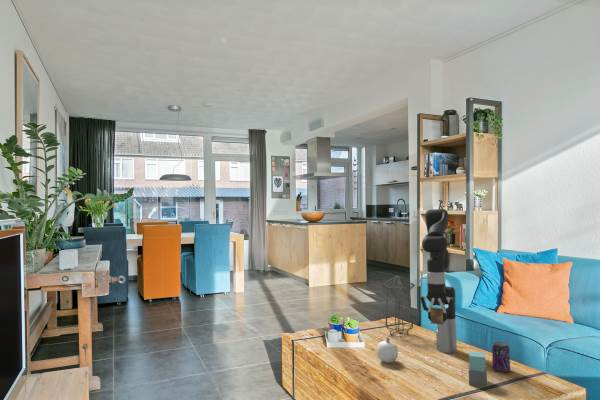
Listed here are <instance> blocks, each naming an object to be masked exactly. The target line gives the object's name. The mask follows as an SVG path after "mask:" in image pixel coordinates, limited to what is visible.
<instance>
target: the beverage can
mask: <svg viewBox="0 0 600 400" xmlns="http://www.w3.org/2000/svg"><path fill="white" fill-rule="evenodd" d="M491 355H492V356H491V357H492V369H493V370H495V371H496V372H499V373H507V372H510V371H511V358H510V357H511V356H510V348H509V344H508V343H507V342H504V341H494V342H492V347H491Z"/></svg>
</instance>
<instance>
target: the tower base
mask: <svg viewBox="0 0 600 400" xmlns="http://www.w3.org/2000/svg"><path fill="white" fill-rule="evenodd" d="M468 384H469V385H468V386H477V387H485V388H488V370H487V366H485V372H481V371H472V370H470V364H469V365H468Z"/></svg>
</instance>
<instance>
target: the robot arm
mask: <svg viewBox="0 0 600 400" xmlns="http://www.w3.org/2000/svg"><path fill="white" fill-rule="evenodd" d="M424 216H425V217H424V220H425V226H426V230H427V231H426V232H427V234H426V235H425V236H424V237H423V239H422V240H421V241H422V242H421V246H422V250H423V251H425V252H426V253H429V258H427V260H426V266H427V268H426V269H427V270H426V271H427V272H426V281H427V282H426V284H427V287H426V288H427V294H426V295H421V297H420V301H421V306H422V309H423V311H426V312H427V318H428V320H429V321H430V322H431V311H430V310H431V309H432V307H434V306H440V308H442V310H443V322H444V323H443V324H436V326H437V330H436V332H435V338H436V350H438V352H441V353H444V354H445V353H446V354H455V353H457V352H458V348H457V345H458V344H457V322H456V321H457V319H456V317H457V316H456V290H455V288H454V287H453V286H446V275H445V272H446V271H447V269H448V268H449V265H450V256H449V250H448V240H447V238H446V237H445V231H446V230H447V228H448V226H449V220H450V218H449V212H448V210H447V209H445V208H439V209H435V208H434V209H427V210H426V211H425V215H424ZM427 300H428V301H429V305H428V306H429V307H428V306H427V303H426V301H427ZM446 305H447V307H446Z"/></svg>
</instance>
